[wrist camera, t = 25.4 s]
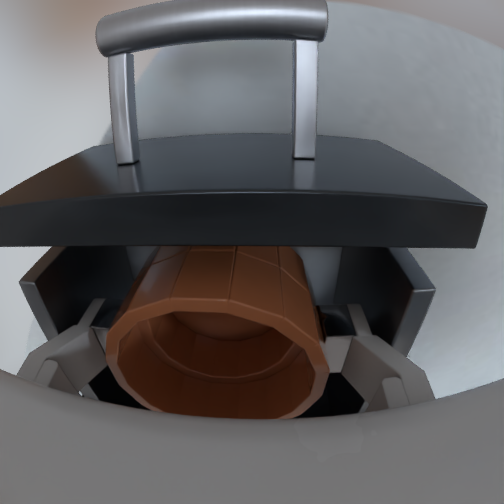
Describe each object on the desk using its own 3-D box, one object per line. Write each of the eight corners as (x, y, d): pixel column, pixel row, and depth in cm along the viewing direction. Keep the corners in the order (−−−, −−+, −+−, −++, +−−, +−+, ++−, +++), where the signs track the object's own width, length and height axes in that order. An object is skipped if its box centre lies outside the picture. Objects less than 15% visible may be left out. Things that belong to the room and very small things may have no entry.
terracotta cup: (134, 215, 10) (73, 291, 6) (317, 213, 10) (350, 299, 6) (164, 340, 13) (140, 421, 9) (300, 344, 13) (310, 430, 9)
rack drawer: (85, 55, 10) (-43, 57, 3) (382, 42, 10) (502, 17, 3) (142, 346, 19) (109, 443, 12) (338, 350, 19) (360, 455, 12)
